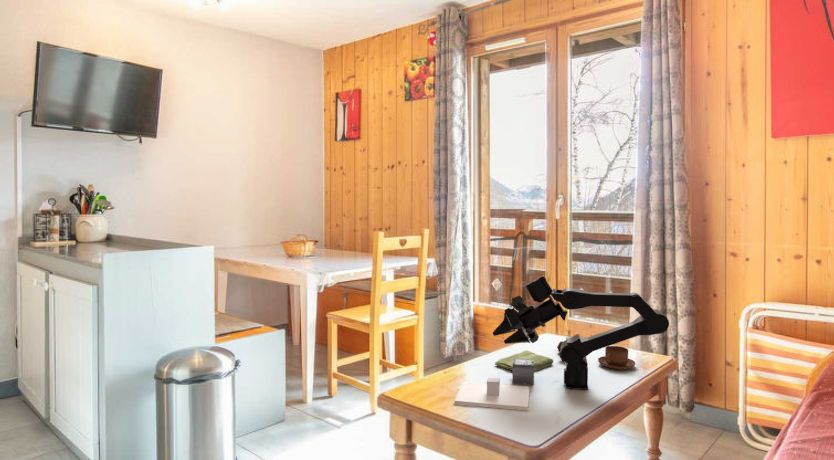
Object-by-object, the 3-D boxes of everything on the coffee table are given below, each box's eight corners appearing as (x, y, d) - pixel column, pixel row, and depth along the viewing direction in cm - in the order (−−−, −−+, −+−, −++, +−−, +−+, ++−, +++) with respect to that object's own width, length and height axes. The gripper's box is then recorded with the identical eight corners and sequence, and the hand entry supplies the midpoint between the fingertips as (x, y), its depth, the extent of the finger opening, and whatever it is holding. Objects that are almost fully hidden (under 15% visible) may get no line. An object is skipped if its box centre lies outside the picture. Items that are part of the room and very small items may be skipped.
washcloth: (492, 367, 185) (493, 357, 184) (526, 357, 196) (526, 348, 195) (522, 377, 174) (522, 367, 174) (556, 366, 185) (556, 357, 185)
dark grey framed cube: (533, 378, 172) (534, 359, 172) (533, 384, 166) (533, 365, 165) (513, 376, 173) (513, 358, 173) (512, 383, 167) (512, 364, 167)
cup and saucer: (632, 374, 176) (632, 355, 176) (594, 368, 182) (594, 350, 182) (637, 364, 187) (638, 347, 186) (601, 359, 193) (602, 342, 192)
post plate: (529, 390, 161) (529, 373, 161) (527, 410, 146) (528, 392, 145) (462, 384, 166) (462, 368, 165) (454, 404, 150) (454, 386, 150)
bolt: (564, 355, 204) (569, 366, 189) (552, 347, 204) (556, 358, 190) (572, 342, 203) (578, 352, 188) (560, 335, 204) (565, 344, 189)
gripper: (540, 302, 178) (500, 325, 182) (520, 282, 164) (477, 307, 168) (555, 331, 171) (513, 354, 175) (536, 312, 157) (490, 338, 161)
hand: (498, 338), depth 170 cm, fingers open, 9 cm apart
